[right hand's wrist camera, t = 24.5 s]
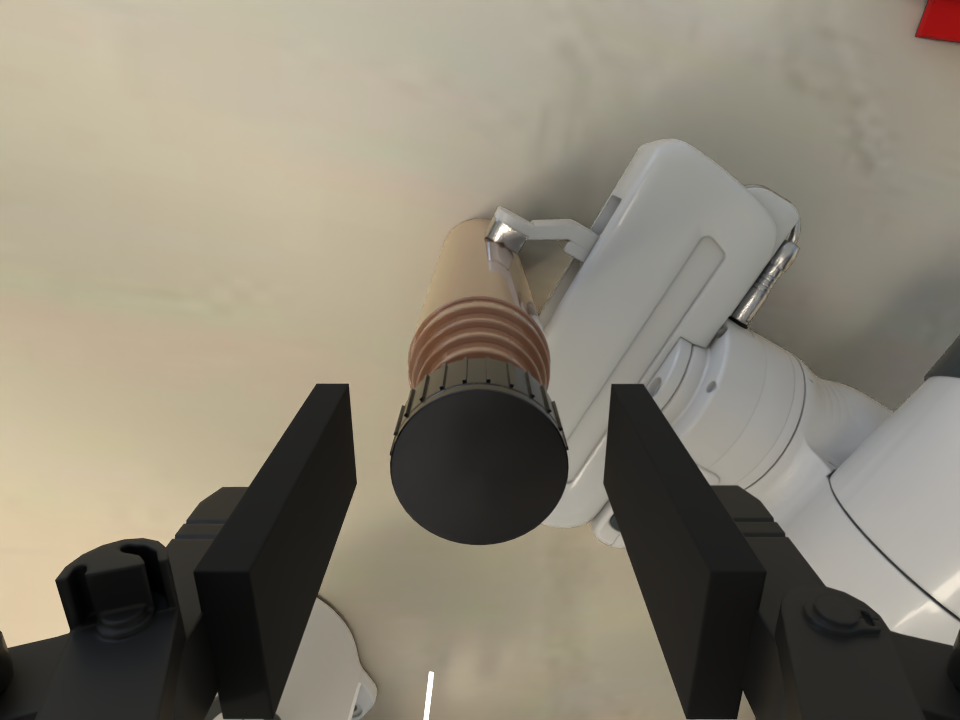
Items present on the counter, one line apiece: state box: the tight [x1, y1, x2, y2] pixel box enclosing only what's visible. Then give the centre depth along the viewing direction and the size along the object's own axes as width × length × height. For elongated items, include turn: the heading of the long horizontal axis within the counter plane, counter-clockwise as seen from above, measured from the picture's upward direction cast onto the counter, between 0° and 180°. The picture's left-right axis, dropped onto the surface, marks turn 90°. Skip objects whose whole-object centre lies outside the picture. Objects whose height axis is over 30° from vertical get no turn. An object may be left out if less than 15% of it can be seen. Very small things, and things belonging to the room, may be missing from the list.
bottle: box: [408, 219, 551, 391], centre depth 25 cm, size 4×4×24 cm
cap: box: [390, 357, 569, 545], centre depth 14 cm, size 4×4×2 cm
